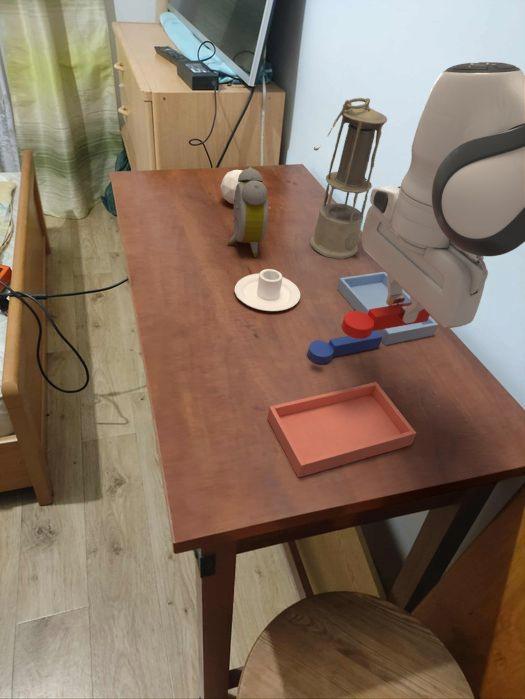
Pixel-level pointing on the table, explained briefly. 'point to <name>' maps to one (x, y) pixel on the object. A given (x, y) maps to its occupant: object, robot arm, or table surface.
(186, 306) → the table surface
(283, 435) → the red tray
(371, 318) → the red spoon
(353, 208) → the lamp
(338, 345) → the blue spoon
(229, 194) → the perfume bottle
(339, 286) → the blue tray
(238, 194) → the alarm clock
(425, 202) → the robot arm
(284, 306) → the candle holder
